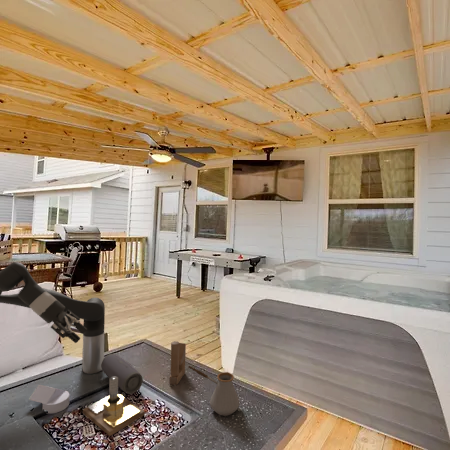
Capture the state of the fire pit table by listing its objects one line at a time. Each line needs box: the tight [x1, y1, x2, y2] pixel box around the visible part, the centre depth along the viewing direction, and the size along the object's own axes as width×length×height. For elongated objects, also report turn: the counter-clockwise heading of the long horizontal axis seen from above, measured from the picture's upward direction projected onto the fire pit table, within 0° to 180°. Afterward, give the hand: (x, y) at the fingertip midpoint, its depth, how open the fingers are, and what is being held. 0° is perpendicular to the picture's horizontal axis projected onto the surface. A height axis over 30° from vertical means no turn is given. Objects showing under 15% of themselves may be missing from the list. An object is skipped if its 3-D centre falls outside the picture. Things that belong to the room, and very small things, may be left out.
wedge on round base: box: [28, 384, 70, 414], centre depth 118 cm, size 9×7×13 cm
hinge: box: [86, 393, 140, 429], centre depth 114 cm, size 17×11×4 cm, turn 52°
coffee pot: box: [186, 365, 240, 417], centre depth 119 cm, size 21×12×15 cm, turn 77°
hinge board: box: [82, 397, 145, 437], centre depth 114 cm, size 18×14×2 cm
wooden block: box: [168, 340, 187, 386], centre depth 139 cm, size 4×11×18 cm, turn 168°
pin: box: [108, 376, 119, 404], centre depth 114 cm, size 3×3×12 cm
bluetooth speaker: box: [101, 353, 144, 395], centre depth 133 cm, size 23×9×10 cm, turn 44°
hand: (81, 336), depth 114 cm, fingers open, 8 cm apart
